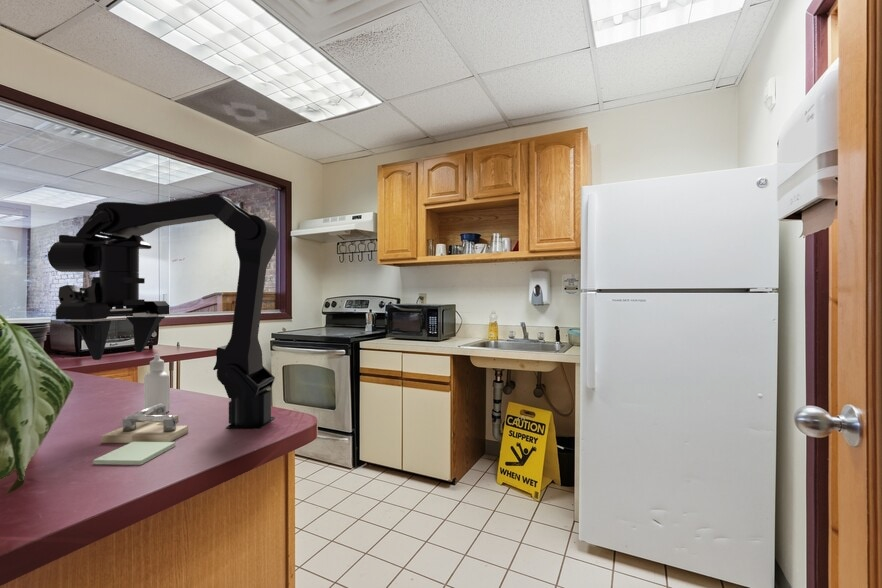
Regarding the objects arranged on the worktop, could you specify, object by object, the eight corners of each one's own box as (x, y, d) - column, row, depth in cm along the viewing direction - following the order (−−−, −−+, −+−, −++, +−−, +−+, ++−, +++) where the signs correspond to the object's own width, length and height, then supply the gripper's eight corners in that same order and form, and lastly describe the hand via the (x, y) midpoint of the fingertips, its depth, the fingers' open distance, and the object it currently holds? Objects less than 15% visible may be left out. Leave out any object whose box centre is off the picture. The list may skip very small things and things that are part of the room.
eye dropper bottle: (169, 406, 85) (169, 351, 85) (170, 413, 80) (170, 355, 80) (143, 410, 82) (144, 353, 82) (143, 417, 78) (143, 356, 78)
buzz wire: (209, 421, 75) (209, 401, 75) (167, 443, 64) (167, 420, 64) (152, 420, 75) (152, 401, 75) (102, 442, 64) (102, 419, 64)
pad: (175, 445, 63) (175, 442, 63) (141, 464, 56) (141, 460, 56) (132, 445, 63) (132, 441, 63) (93, 464, 56) (93, 460, 56)
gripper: (119, 274, 82) (119, 348, 82) (22, 269, 64) (22, 364, 64) (171, 274, 82) (171, 348, 82) (89, 269, 63) (89, 364, 63)
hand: (119, 355), depth 73 cm, fingers open, 9 cm apart
